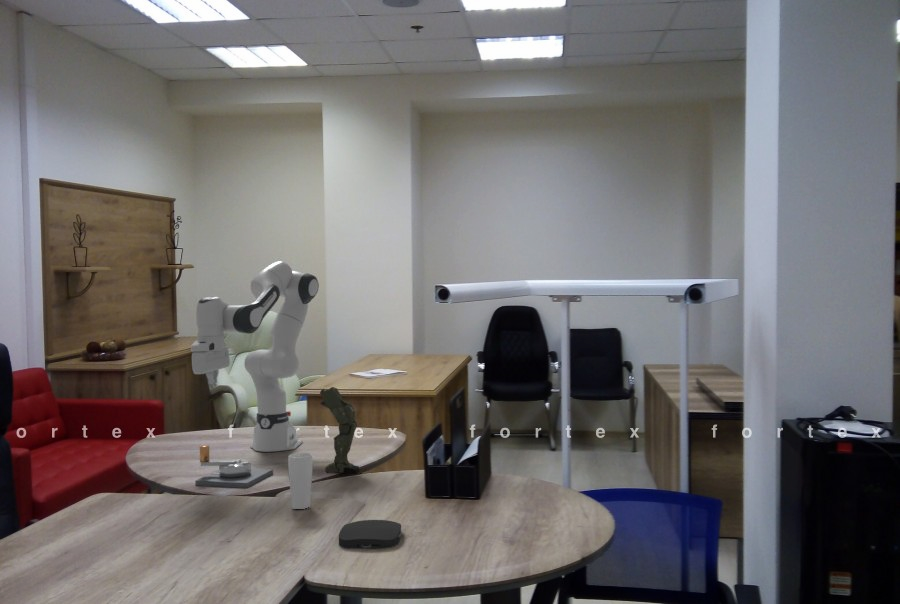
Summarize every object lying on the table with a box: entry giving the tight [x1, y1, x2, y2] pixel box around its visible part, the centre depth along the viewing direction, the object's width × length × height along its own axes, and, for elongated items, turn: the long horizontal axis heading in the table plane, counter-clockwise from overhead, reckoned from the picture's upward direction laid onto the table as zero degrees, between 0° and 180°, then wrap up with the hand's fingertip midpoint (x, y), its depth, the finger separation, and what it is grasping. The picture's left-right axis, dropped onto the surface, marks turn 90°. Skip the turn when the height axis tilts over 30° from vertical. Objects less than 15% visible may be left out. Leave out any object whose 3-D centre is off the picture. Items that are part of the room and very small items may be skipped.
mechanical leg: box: [319, 386, 360, 474], centre depth 249 cm, size 14×7×30 cm, turn 85°
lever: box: [199, 445, 252, 478], centre depth 239 cm, size 16×10×9 cm, turn 90°
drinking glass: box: [287, 452, 314, 510], centre depth 206 cm, size 7×7×15 cm
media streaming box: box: [338, 519, 402, 549], centre depth 180 cm, size 15×15×3 cm
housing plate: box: [194, 468, 274, 489], centre depth 239 cm, size 18×18×2 cm
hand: (212, 383), depth 252 cm, fingers closed
